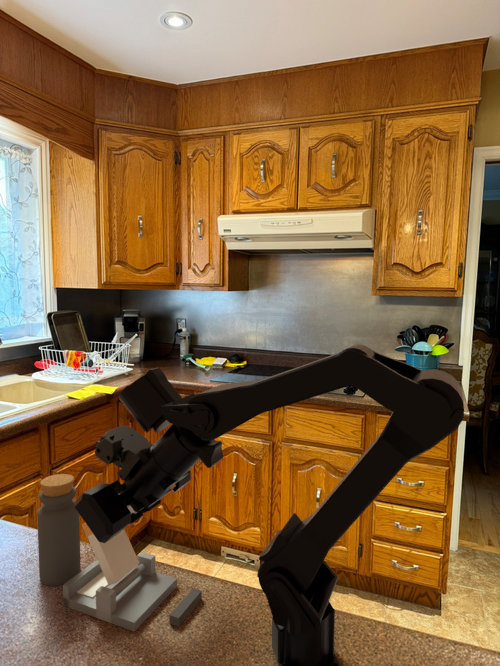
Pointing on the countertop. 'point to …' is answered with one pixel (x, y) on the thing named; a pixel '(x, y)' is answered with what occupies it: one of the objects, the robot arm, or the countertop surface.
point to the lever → (116, 559)
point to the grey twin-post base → (130, 605)
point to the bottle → (58, 531)
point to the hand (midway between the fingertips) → (107, 522)
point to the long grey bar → (185, 607)
